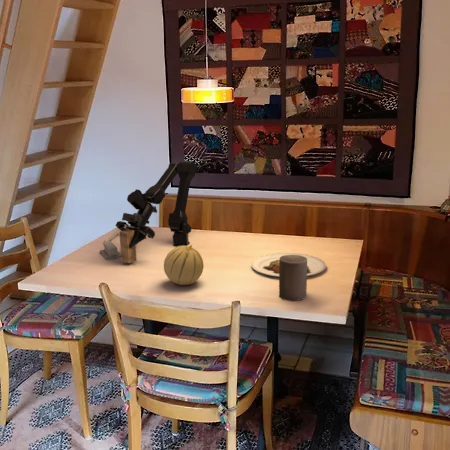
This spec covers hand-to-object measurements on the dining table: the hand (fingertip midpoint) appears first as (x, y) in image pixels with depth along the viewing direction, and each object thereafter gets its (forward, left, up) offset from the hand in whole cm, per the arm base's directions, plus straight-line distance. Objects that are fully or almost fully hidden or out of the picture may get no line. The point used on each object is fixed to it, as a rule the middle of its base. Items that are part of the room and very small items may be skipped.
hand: (125, 246), depth 225 cm
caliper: (+21, -37, -8) cm, 43 cm away
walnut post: (-1, -1, -7) cm, 7 cm away
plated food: (-67, -5, -8) cm, 68 cm away
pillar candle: (-71, +25, -8) cm, 76 cm away
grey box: (+12, -12, -8) cm, 18 cm away
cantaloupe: (-30, +19, -8) cm, 36 cm away
